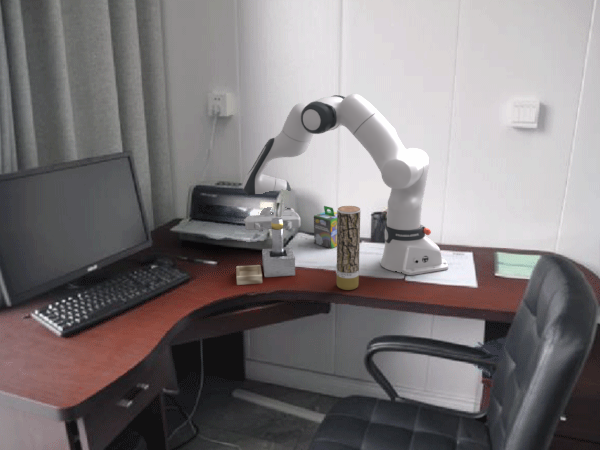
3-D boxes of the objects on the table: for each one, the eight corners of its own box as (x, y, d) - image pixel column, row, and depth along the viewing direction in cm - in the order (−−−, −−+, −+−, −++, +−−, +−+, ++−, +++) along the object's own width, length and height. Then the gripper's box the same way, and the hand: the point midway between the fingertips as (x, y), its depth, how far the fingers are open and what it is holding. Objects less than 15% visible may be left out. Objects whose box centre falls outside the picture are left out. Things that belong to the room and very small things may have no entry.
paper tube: (357, 291, 152) (359, 212, 144) (335, 290, 153) (335, 211, 145) (359, 282, 158) (361, 206, 150) (338, 281, 159) (338, 205, 152)
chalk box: (347, 243, 192) (347, 206, 188) (330, 249, 186) (330, 211, 182) (329, 237, 199) (329, 201, 194) (313, 243, 193) (312, 206, 188)
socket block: (291, 263, 173) (291, 247, 172) (295, 275, 164) (294, 258, 162) (262, 265, 172) (262, 249, 170) (264, 277, 163) (263, 260, 161)
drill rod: (283, 267, 170) (282, 217, 165) (284, 272, 167) (283, 220, 161) (272, 268, 170) (270, 217, 164) (273, 272, 166) (271, 221, 161)
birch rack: (260, 272, 167) (260, 264, 166) (262, 283, 158) (262, 275, 158) (236, 273, 166) (236, 266, 165) (236, 284, 157) (236, 277, 157)
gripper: (243, 210, 187) (244, 221, 174) (297, 208, 190) (302, 218, 176) (244, 226, 189) (245, 238, 176) (297, 223, 191) (302, 235, 178)
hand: (274, 228), depth 176 cm, fingers open, 8 cm apart
